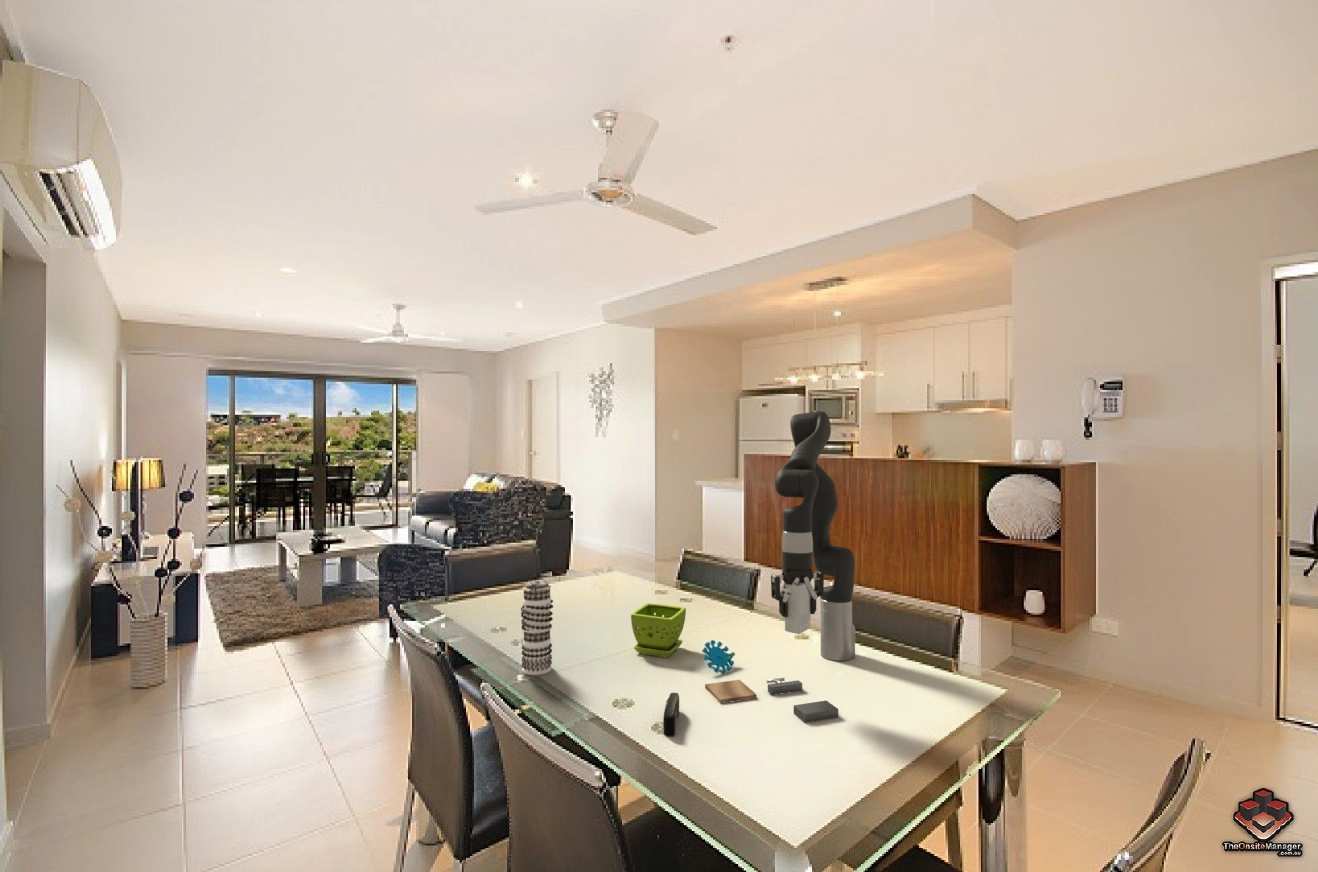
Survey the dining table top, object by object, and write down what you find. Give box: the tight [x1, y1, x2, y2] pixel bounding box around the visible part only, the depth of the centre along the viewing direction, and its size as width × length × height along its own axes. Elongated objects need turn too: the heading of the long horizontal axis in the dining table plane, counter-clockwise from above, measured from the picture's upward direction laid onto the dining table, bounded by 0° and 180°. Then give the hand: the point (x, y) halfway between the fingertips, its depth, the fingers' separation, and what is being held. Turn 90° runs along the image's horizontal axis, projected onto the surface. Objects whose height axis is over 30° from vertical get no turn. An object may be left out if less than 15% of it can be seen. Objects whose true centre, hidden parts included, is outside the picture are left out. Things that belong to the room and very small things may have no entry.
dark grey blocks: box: [766, 677, 839, 724], centre depth 149 cm, size 9×22×2 cm, turn 18°
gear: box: [701, 639, 736, 675], centre depth 171 cm, size 11×6×10 cm
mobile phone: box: [662, 692, 680, 737], centre depth 139 cm, size 5×3×15 cm
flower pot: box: [630, 602, 687, 659], centre depth 186 cm, size 14×14×13 cm
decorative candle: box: [520, 579, 554, 676], centre depth 171 cm, size 9×9×25 cm
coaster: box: [704, 679, 758, 704], centre depth 154 cm, size 10×10×1 cm
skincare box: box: [784, 583, 811, 635], centre depth 149 cm, size 6×4×12 cm
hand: (797, 614), depth 149 cm, fingers closed on skincare box, 7 cm apart
